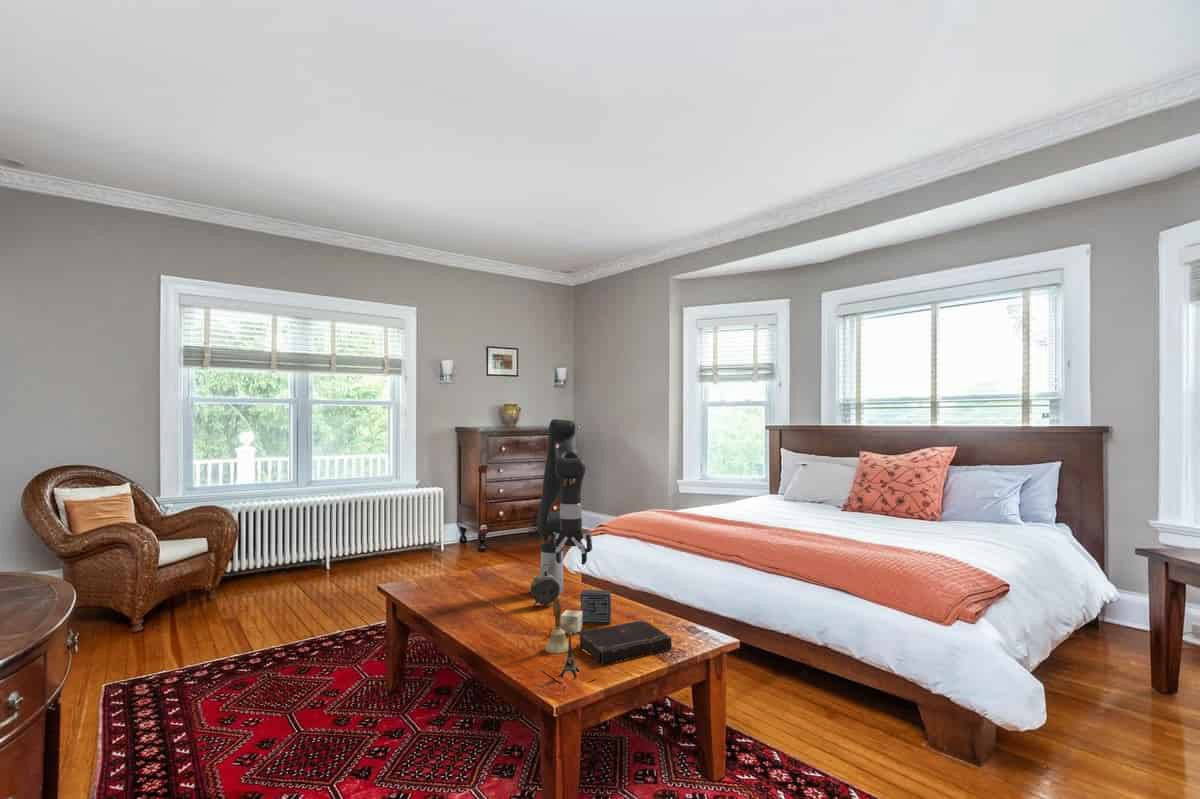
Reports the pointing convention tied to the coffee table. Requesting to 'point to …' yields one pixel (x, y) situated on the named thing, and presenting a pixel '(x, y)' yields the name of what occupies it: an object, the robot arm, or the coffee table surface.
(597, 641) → the diary
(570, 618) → the birch cube
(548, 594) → the alarm clock
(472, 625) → the coffee table surface
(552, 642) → the hand bell
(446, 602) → the coffee table surface
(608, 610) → the small box
